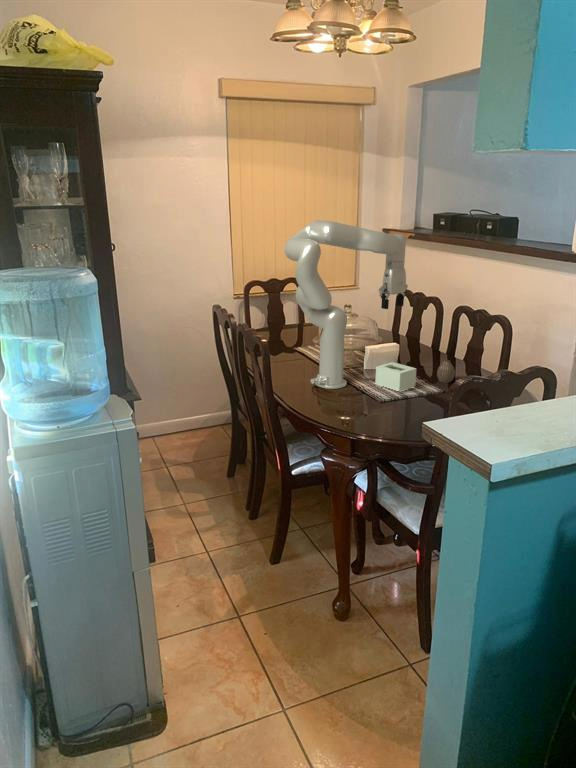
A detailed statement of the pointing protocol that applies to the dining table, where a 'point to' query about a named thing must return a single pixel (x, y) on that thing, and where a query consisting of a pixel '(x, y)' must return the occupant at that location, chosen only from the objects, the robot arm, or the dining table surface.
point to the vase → (446, 372)
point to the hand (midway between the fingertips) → (392, 307)
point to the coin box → (395, 376)
